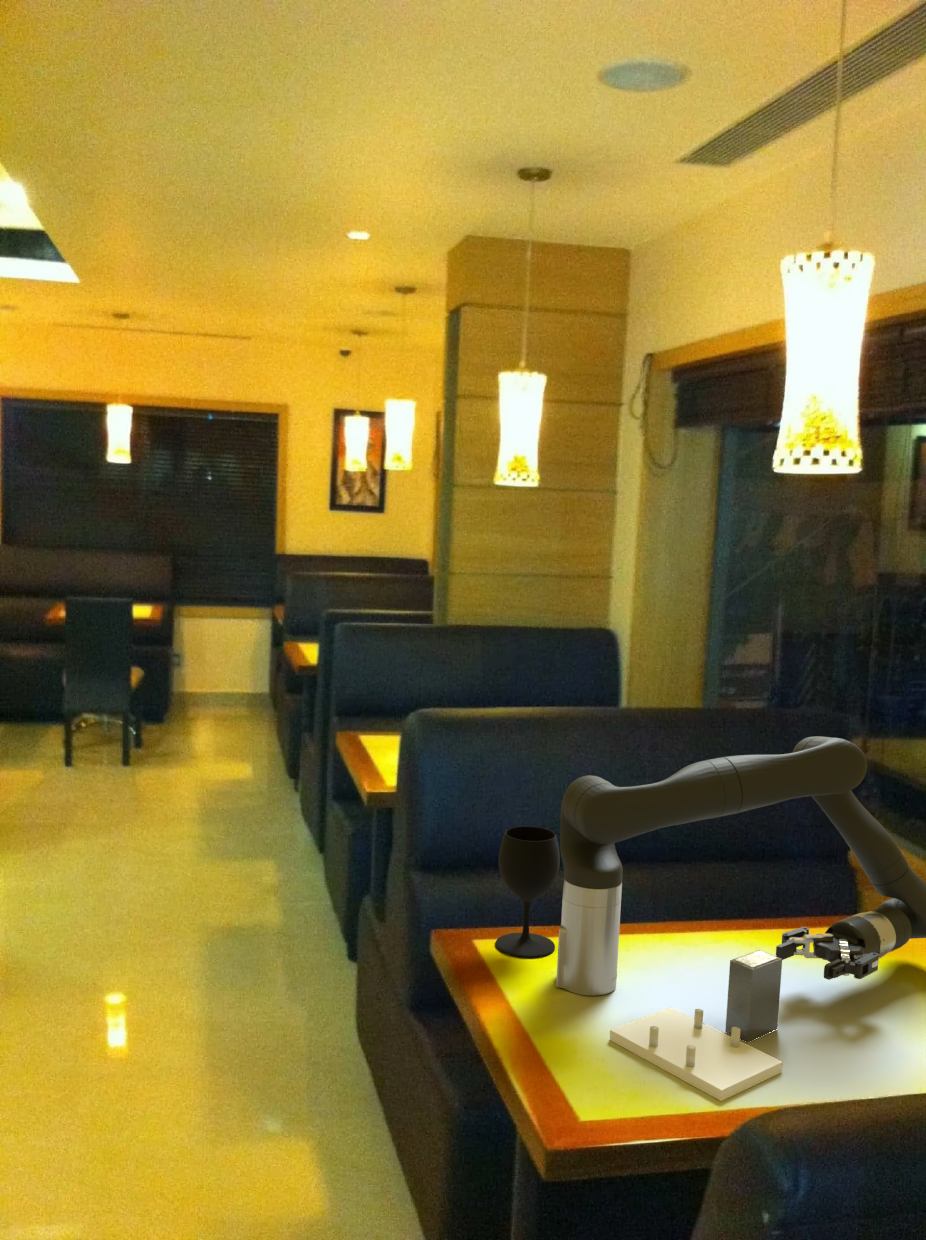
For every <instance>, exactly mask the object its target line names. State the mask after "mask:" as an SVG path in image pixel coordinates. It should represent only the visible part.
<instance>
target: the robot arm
mask: <svg viewBox="0 0 926 1240" xmlns="http://www.w3.org/2000/svg"><path fill="white" fill-rule="evenodd" d="M867 761H868V760H867V758H866V755H865V753H864V751H862V749H861V748H860V747H859V746H858V745H856V744H855V743H853V742H851V741H849V740H847V739H844V738H842V737H841V738H839V737H829V736H817V735H816V736H808V737H804V738H803V739H802V740H799V741H798V743H797V744H796V745H795V747H794V748H793V750H792V752H790V753H789V752H788V753H784V754H783V753H782V754H743V755H742V754H741V755H739V754H738V755H729V756H722V757H716V758H711V759H704V760H702V761H697V762H694V763H691V764H689V765H686V766H685V767H682V768H681V769H680V770H678V771H677V772H675V773H674V774H672V775H671V776H669V777H667V778H665V779H663V780H661V781H658V782H654V783H653V782H652V783H649V784H648V783H647V784H641V785H634V786H633V785H632V786H616V785H614V784H612V783H611V782H610V781H608V780H605V779H604V778H602V777H600V776H597V775H589V774H588V775H584V776H581V777H578V778H576V779H575V780H573V781H572V782H571V783H570V784H569V785H568V787H567V788H566V790H565V793H564V795H563V797H562V801H561V808H560V839H559V840H560V843H559V844H560V845H559V853H560V858H561V861H562V866H563V880H562V886H563V887H562V900H561V902H562V903H561V904H562V905H561V921H560V927H559V930H558V942H557V943H558V945H557V963H556V964H557V965H556V985H555V986H556V988H561V989H565V990H567V991H569V992H571V993H574V994H578V995H581V996H582V995H584V996H603V995H606V994H610V993H612V992H613V991H615V989H616V987H617V978H618V960H619V959H618V958H619V942H620V924H621V907H622V906H621V905H622V890H623V889H622V888H623V873H624V872H623V871H624V869H623V865H622V862H621V860H620V857H619V856H618V853H617V850H616V849H617V848H616V845H615V843H619V842H622V841H625V840H628V839H631V838H634V837H637V836H640V835H643V834H645V833H646V834H647V833H649V832H652V831H656V830H659V829H662V828H666V827H672V826H678V825H683V824H688V823H689V824H690V823H693V822H698V821H704V820H708V819H709V820H710V819H715V818H719V817H720V818H721V817H725V816H729V815H730V816H731V815H735V814H739V813H742V812H747V811H751V810H755V809H759V808H760V809H761V808H763V807H767V806H768V807H769V806H771V805H774V804H779V803H782V802H784V801H789V800H792V799H798V798H804V797H811V798H812V799H813V800H814V801H815V803H816V804H817V805H818V806H819V808H820V809H821V810H822V812H824V813H825V815H826V817H827V818H828V819H829V820H830V822H831V823H832V825H834V827H835V828H836V830H837V831H838V833H839V834H840V836H841V837H842V838H843V839H844V841H845V843H846V844H847V846H848V847H849V849H850V851H851V852H852V853H853V855H854V856H855V858H856V860H857V862H858V863H859V865H860V867H861V868H862V870H863V872H864V874H865V875H866V876H867V877H866V878H867V879H868V880H869V882H870V884H871V885H872V887H873V889H874V890H875V891H876V892H877V894H879V895H881V896H883V897H885V898H886V897H887V898H889V899H887V900H885V901H883V902H882V903H881V904H880V905H879V906H878V907H877V908H874V909H871V910H869V911H867V912H865V911H864V912H859V913H856V914H853V915H851V916H849V917H846V918H843V919H840V920H838V921H835V922H834V923H831V925H830V926H829V927H828V929H826V931H825V932H822V933H816V934H812V933H809V932H810V928H809V927H807V926H802V927H799V928H795V929H792V930H789V931H786V932H782V933H781V943H780V944H778V945H776V946H775V947H776V948H775V956H776V957H779V958H781V959H782V961H783V960H784V961H785V960H786V959H788V958H791V957H793V956H804V958H806V959H821V960H823V961H827V962H828V963H825V965H824V967H823V978H824V979H826V980H828V981H830V980H832V979H836V978H839V977H841V976H844V977H848V976H850V975H853V978H854V979H857V980H862V979H865V977H868V976H869V975H871V974H873V973H875V972H877V971H878V969H879V960H880V959H881V958H883V957H885V956H886V955H887V954H889V953H891V952H894V951H896V950H898V949H901V948H903V946H905V945H906V944H907V943H908V942H909V941H910V940H911V939H926V882H925V881H924V880H923V879H922V878H921V877H920V876H919V875H918V874H917V873H916V872H915V871H914V870H913V869H912V868H911V866H910V863H909V862H908V860H907V859H906V857H905V855H904V854H903V851H902V850H901V849H900V847H899V846H898V844H897V842H896V841H895V839H894V837H893V836H892V835H891V834H890V833H889V832H888V830H886V828H885V827H883V825H882V824H881V823H880V822H879V821H878V820H877V818H875V817H874V816H873V815H872V814H871V813H870V812H869V811H868V810H867V809H866V807H865V806H864V805H863V804H862V803H861V802H860V801H859V800H858V798H857V797H856V795H855V794H854V793H853V791H852V790H854V789H855V788H857V787H858V786H859V785H860V784H861V783H862V781H863V780H864V778H865V776H866V774H867V770H868V762H867ZM811 943H812V947H813V951H811V950H810V949H811ZM798 947H802V948H798Z"/></svg>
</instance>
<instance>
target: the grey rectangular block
mask: <svg viewBox="0 0 926 1240" xmlns="http://www.w3.org/2000/svg"><path fill="white" fill-rule="evenodd" d="M782 966H783V960H782V959H781V958H779V957H776V955H774V954H771V953H768V952H767V951H764V950H762V949H759V950H755V951H753V952H750V953H748V954H744V955H742V956H738V957H735V958H733V959H730V961H729V973H728V985H727V987H728V988H727V989H728V990H727V1004H726V1014H725V1015H726V1017H725V1018H726V1019H725V1032H724V1033H726V1032H727V1033H726V1034H728V1033H729V1034H728V1035H730V1034H731V1031H732V1027H739V1028H740V1039H741V1040H740V1041H742V1040H744V1041H746V1042H747V1044H749V1043H751V1042H750V1041H752V1040H754V1039H756V1038H758V1037H761V1036H763V1035H765V1034H767V1033H769V1032H772V1031H773V1030H776V1029H777V1030H778V1025H779V1024H778V1023H779V1011H780V1009H779V1008H780V995H781V984H782V983H781V982H782V981H781V980H782V969H783V967H782ZM772 1033H773V1032H772ZM765 1036H766V1035H765ZM763 1037H764V1036H763ZM761 1038H762V1037H761ZM756 1040H757V1039H756ZM744 1041H743V1042H744ZM754 1041H755V1040H754ZM746 1042H745V1043H746ZM748 1042H749V1043H748ZM752 1042H753V1041H752Z"/></svg>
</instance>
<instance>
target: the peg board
mask: <svg viewBox="0 0 926 1240" xmlns="http://www.w3.org/2000/svg"><path fill="white" fill-rule="evenodd" d="M609 1040H610V1041H611V1042H613V1043H614V1044H617V1045H619V1046H620V1047H622V1048H624V1049H626V1050H627V1051H629V1052H631V1053H633V1054H635V1055H636V1056H638V1057H640V1058H642V1059H643V1060H645V1061H648V1062H650V1063H651V1064H653V1065H655V1066H656V1067H659V1068H660V1069H662V1070H663V1071H666V1072H668V1073H669V1074H671V1075H672V1076H675V1077H677V1078H678V1079H680V1080H682V1081H684V1082H686V1083H687V1084H689V1085H691V1086H693V1087H695V1088H696V1089H698V1090H700V1091H701V1092H704V1093H706V1094H707V1095H709V1096H711V1097H713V1098H714V1099H716V1100H718V1101H720V1102H722V1101H725V1100H727V1099H729V1098H730V1097H734V1096H735V1095H737V1094H739V1093H742V1092H743V1091H746V1090H748V1089H750V1088H753V1087H754V1086H756V1085H758V1084H760V1083H762V1082H765V1081H766V1080H769V1079H771V1078H773V1077H775V1076H777V1075H779V1074H781V1073H783V1061H781V1060H779V1059H777V1058H775V1057H773V1056H771V1055H769V1054H767V1053H765V1052H763V1051H761V1050H760V1049H757V1048H755V1047H753V1046H751V1045H749V1044H748V1043H747V1044H746V1042H744V1041H742V1040H740V1028H739V1027H732V1031H731V1035H730V1034H728V1033H726V1032H722V1031H720V1030H718V1029H716V1028H714V1027H712V1026H710V1025H708V1024H706V1023H705V1022H704V1010H703V1009H701V1008H695V1009H694V1017H692V1016H691V1015H688V1014H686V1013H684V1012H682V1011H679V1010H678V1009H676V1008H674V1007H672V1006H669V1007H666V1008H664V1009H662V1010H661V1009H660V1010H658V1011H656V1012H653V1013H651V1014H648V1015H645V1016H643V1017H640V1018H637V1019H635V1020H633V1021H629V1022H626V1023H624V1024H621V1025H619V1026H616V1027H613V1028H611V1029H609Z"/></svg>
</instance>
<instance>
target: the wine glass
mask: <svg viewBox="0 0 926 1240" xmlns="http://www.w3.org/2000/svg"><path fill="white" fill-rule="evenodd" d="M560 858H561V852H560V845H559V842H558V838H557V834H556V833H555V832H554V831H552V830H550V829H548V828H544V827H540V826H539V827H538V826H530V825H529V826H528V825H525V826H523V825H520V826H514V827H509V828H508V829H506V830H505V831H504V834H503V837H502V840H501V843H500V847H499V853H498V867H499V868H498V869H499V873H500V876H501V879H502V881H503V883H504V884H505V886H506V888H507V889H508V890H509V891H510V892H511V893H512V894H513V895H515V896H516V897H517V898H518V899H519V900H520V901H521V902H522V905H523V925H522V932H510V933H506V934H503V935H501V936H499V937H497V939H496V940H495V947H496V949H497V951H499V952H500V953H503V954H504V955H507V956H511V957H514V958H520V959H539V958H544V957H547V956H550V955H551V954H552V953H554V952H555V949H556V944H555V942H554V941H553V940H552V939H551V938H548V937H546V936H544V935H540V934H537V933H532V932H530V913H531V907H532V903H533V902H534V901H536V900H537V899H538V898H540V897H541V896H543V895H545V894H546V892H548V891H549V890H550V888H552V886H553V885H554V884H555V882H556V879H557V877H558V874H559V869H560V865H561V862H560V861H561V859H560Z"/></svg>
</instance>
